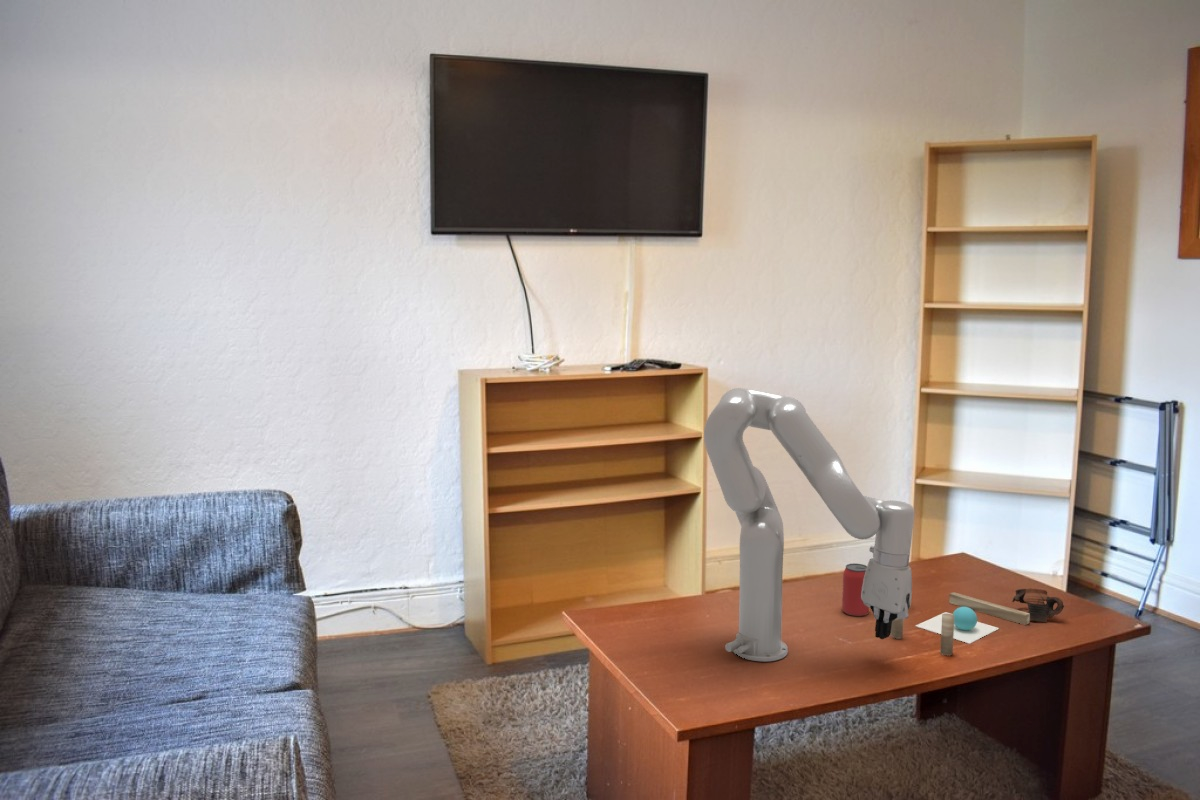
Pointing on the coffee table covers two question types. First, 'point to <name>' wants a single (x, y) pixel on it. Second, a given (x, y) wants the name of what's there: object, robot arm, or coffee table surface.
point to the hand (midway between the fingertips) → (882, 636)
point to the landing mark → (960, 635)
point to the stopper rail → (989, 608)
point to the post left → (897, 628)
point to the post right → (947, 634)
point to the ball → (965, 618)
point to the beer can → (853, 590)
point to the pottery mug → (1039, 604)
